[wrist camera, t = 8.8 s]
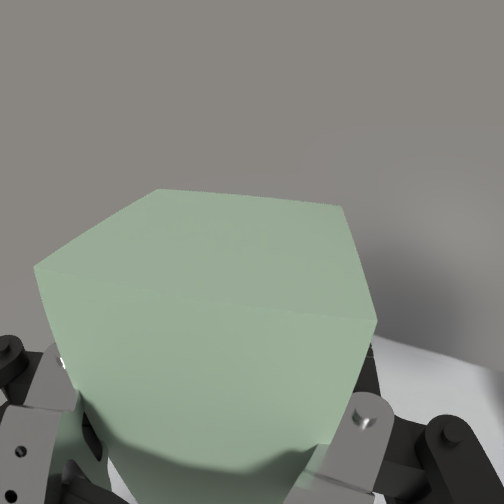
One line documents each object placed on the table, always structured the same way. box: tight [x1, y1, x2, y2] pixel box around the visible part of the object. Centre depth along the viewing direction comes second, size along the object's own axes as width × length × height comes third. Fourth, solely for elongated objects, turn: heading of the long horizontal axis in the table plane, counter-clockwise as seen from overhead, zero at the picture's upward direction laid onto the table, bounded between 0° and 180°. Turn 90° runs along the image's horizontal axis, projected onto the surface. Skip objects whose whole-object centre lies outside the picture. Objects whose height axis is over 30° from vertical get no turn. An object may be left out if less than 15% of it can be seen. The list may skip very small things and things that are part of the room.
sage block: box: [34, 189, 377, 504], centre depth 8 cm, size 5×5×10 cm
